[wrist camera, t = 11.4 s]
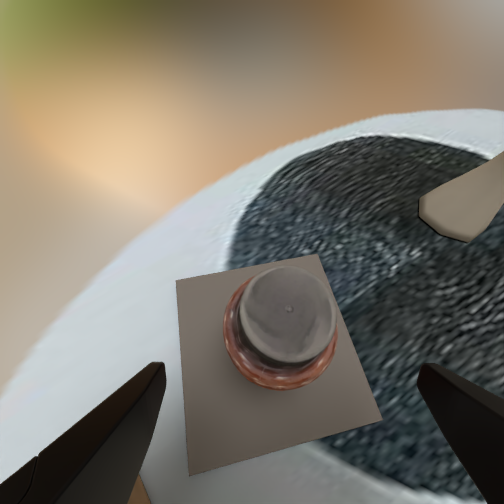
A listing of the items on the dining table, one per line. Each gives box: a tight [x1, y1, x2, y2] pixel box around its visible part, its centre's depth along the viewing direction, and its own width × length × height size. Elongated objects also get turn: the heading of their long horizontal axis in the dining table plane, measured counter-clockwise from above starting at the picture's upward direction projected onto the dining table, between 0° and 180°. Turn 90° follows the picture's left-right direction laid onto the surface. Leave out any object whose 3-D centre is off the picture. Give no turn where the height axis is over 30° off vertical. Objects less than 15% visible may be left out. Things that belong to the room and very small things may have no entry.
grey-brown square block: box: [176, 254, 383, 476], centre depth 20 cm, size 14×14×1 cm
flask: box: [419, 151, 504, 242], centre depth 23 cm, size 7×7×10 cm
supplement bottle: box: [223, 265, 338, 391], centre depth 14 cm, size 6×6×11 cm
